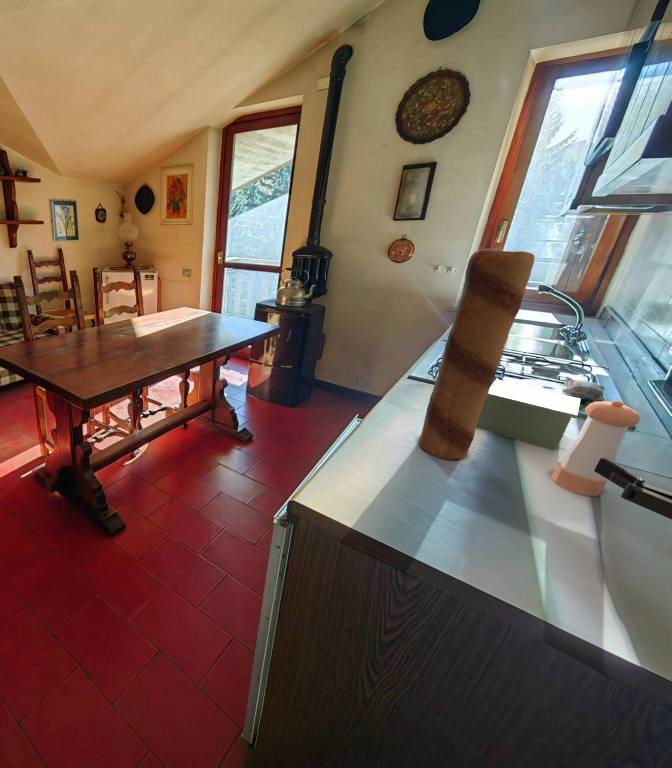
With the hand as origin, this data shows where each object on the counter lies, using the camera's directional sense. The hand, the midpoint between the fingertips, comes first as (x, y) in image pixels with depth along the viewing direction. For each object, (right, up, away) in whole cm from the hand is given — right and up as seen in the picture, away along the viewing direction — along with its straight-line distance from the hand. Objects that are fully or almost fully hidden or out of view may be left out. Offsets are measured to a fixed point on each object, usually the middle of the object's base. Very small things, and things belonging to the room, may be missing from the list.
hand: (638, 466), depth 69 cm
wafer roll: (-19, -1, +23) cm, 30 cm away
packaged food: (+47, +10, +53) cm, 72 cm away
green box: (+8, +3, +33) cm, 34 cm away
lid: (+9, +11, +29) cm, 32 cm away
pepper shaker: (0, -6, +11) cm, 13 cm away
